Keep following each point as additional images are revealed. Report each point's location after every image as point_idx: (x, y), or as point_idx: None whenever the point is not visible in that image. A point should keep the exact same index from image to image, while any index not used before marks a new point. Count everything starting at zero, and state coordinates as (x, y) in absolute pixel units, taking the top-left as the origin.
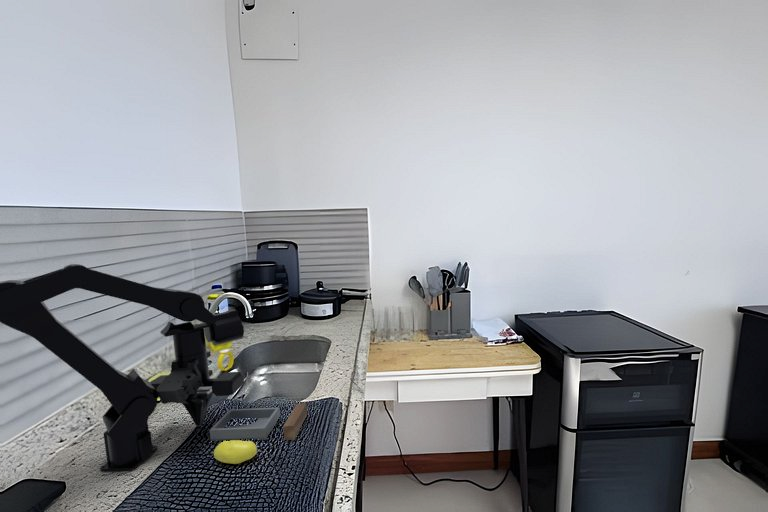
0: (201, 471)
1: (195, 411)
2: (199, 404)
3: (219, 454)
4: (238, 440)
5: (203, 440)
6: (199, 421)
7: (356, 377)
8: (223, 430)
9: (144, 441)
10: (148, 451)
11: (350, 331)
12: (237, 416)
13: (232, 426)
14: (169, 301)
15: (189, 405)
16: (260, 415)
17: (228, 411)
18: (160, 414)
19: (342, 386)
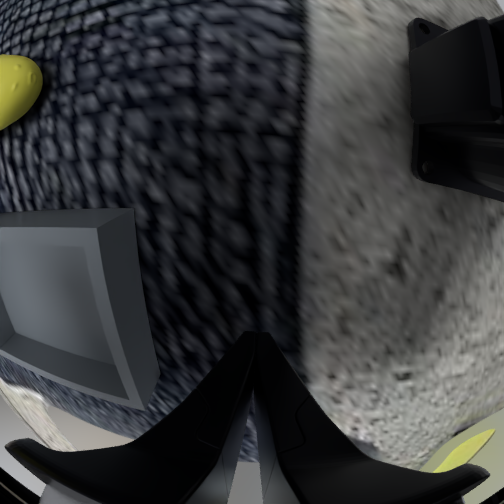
0: (82, 18)
1: (261, 403)
2: (167, 440)
3: (3, 55)
4: None
5: (185, 230)
6: (236, 343)
7: (28, 426)
8: (39, 226)
9: (462, 46)
10: (420, 82)
11: None
12: (116, 373)
13: (97, 314)
14: None
15: (288, 446)
16: (43, 351)
17: (137, 398)
18: (453, 401)
19: (22, 411)
